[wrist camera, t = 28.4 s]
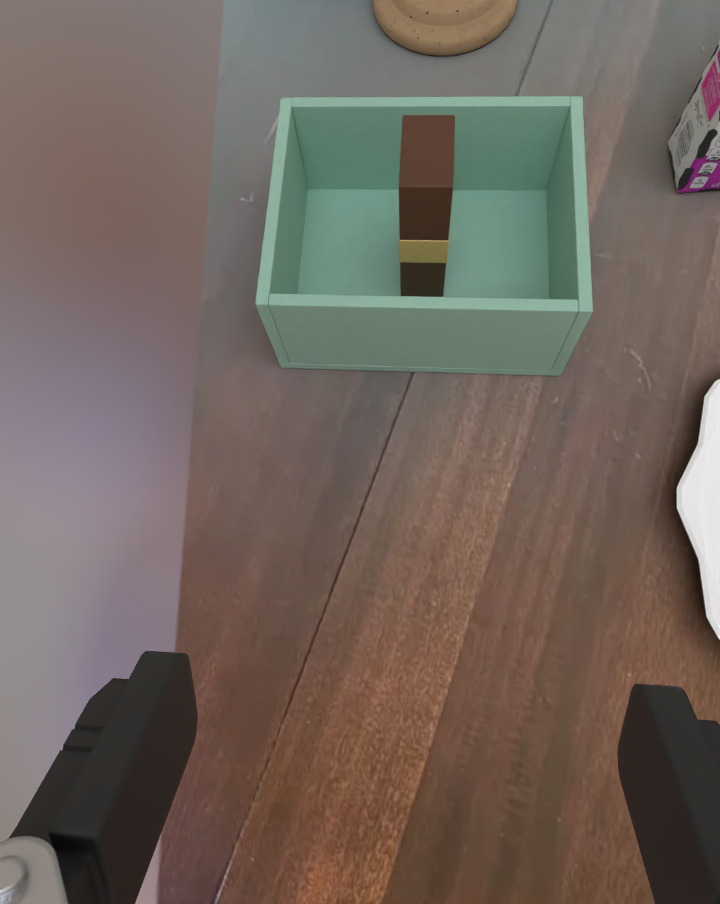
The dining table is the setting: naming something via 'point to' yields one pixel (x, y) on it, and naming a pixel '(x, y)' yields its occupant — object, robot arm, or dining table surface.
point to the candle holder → (443, 23)
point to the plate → (705, 504)
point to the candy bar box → (699, 135)
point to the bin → (470, 238)
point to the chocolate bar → (425, 202)
